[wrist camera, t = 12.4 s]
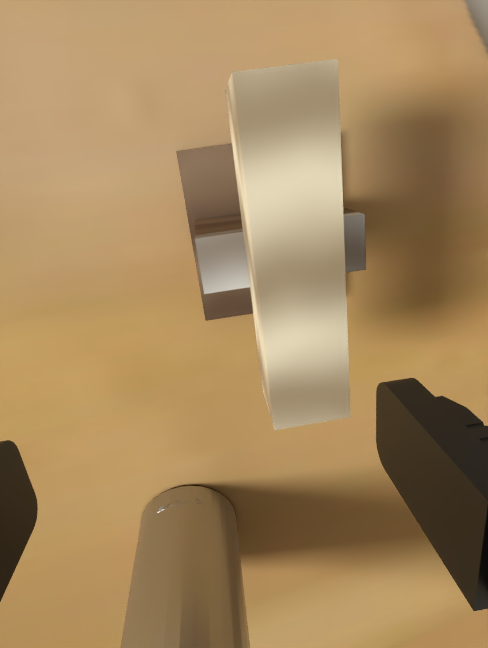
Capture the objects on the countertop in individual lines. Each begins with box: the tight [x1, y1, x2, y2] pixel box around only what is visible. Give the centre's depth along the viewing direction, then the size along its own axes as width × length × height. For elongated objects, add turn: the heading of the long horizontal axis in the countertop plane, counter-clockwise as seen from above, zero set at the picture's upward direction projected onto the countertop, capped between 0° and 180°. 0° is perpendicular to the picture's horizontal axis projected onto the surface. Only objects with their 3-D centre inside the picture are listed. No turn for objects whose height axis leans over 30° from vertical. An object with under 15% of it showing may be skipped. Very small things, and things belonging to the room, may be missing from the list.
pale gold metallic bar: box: [225, 59, 351, 430], centre depth 20 cm, size 16×4×4 cm, turn 7°
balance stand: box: [176, 144, 366, 321], centre depth 26 cm, size 12×10×10 cm
